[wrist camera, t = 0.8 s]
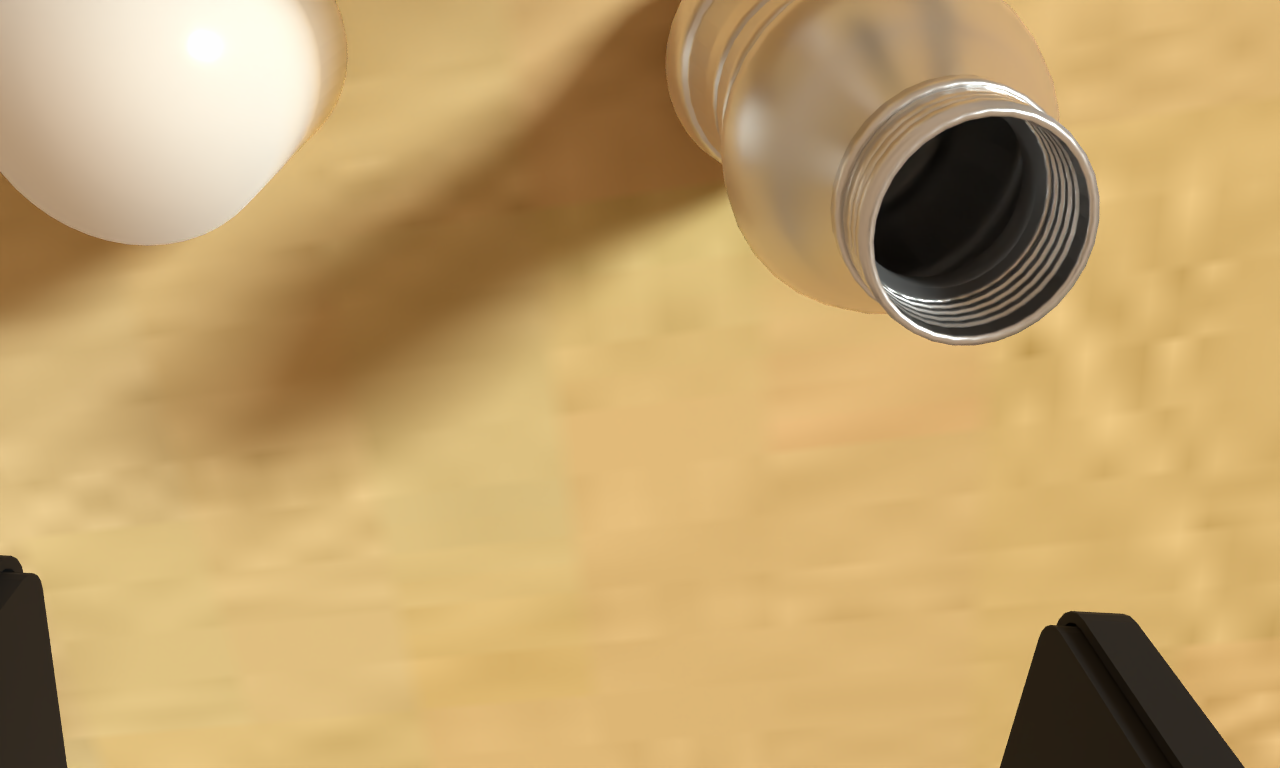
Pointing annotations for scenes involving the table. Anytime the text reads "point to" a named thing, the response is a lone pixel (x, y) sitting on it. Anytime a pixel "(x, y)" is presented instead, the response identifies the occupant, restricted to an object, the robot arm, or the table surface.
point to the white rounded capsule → (160, 106)
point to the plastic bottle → (891, 155)
